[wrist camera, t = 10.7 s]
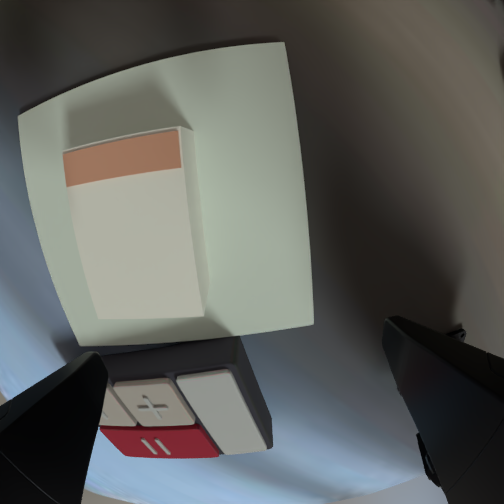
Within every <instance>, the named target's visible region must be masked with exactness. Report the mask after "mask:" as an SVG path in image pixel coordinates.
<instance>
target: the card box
mask: <svg viewBox="0 0 504 504" xmlns="http://www.w3.org/2000/svg"><path fill="white" fill-rule="evenodd" d="M62 154H63V164H64V172H65V180H66V187H67V194H68V200H69V206H70V212H71V217H72V223H73V228H74V232H75V237H76V242H77V246H78V250H79V254H80V259H81V262H82V266H83V270H84V274H85V278H86V281H87V285H88V288H89V291H90V295H91V298H92V301H93V304H94V308H95V311H96V314H97V317H98V319H154V318H182V317H202V316H204V313H205V307H206V302H207V297H208V291H209V286H210V276H209V269H208V261H207V253H206V245H205V237H204V228H203V220H202V211H201V201H200V192H199V181H198V171H197V160H196V148H195V136H194V131H192V130H190V129H187V128H184V127H182V126H177V127H170V128H163V129H157V130H151V131H146V132H140V133H135V134H130V135H125V136H120V137H115V138H111V139H106V140H102V141H98V142H93V143H89V144H85V145H82V146H78V147H74V148H70V149H67V150H63V151H62Z"/></svg>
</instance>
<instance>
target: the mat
mask: <svg viewBox="0 0 504 504" xmlns="http://www.w3.org/2000/svg"><path fill="white" fill-rule="evenodd" d="M18 124H19V136H20V145H21V153H22V161H23V167H24V173H25V179H26V185H27V190H28V195H29V200H30V204H31V209H32V213H33V217H34V221H35V225H36V229H37V233H38V236H39V240H40V244H41V247H42V250H43V254H44V257H45V260H46V263H47V266H48V269H49V272H50V275H51V278H52V281H53V283H54V286H55V289H56V291H57V294H58V297H59V299H60V302H61V304H62V307H63V309H64V312H65V314H66V316H67V319H68V321H69V323H70V325H71V328H72V330H73V332H74V334H75V336H76V339H77V341H78V343H79V345H80V346H113V345H137V344H154V343H169V342H181V341H193V340H203V339H213V338H222V337H231V336H239V335H247V334H254V333H262V332H269V331H276V330H282V329H289V328H295V327H301V326H307V325H313V324H314V316H313V292H312V274H311V257H310V243H309V230H308V218H307V206H306V196H305V186H304V176H303V167H302V158H301V149H300V141H299V133H298V126H297V118H296V111H295V104H294V97H293V91H292V84H291V78H290V72H289V66H288V60H287V54H286V48H285V43H284V42H275V43H261V44H250V45H241V46H232V47H225V48H218V49H212V50H206V51H200V52H195V53H190V54H185V55H180V56H175V57H171V58H167V59H163V60H159V61H155V62H151V63H147V64H144V65H140V66H137V67H133V68H130V69H127V70H124V71H121V72H117V73H114V74H111V75H109V76H106V77H103V78H100V79H97V80H95V81H92V82H89V83H87V84H84V85H82V86H79V87H77V88H75V89H72V90H70V91H68V92H65V93H63V94H61V95H59V96H56V97H54V98H52V99H50V100H48V101H46V102H44V103H42V104H40V105H38V106H36V107H34V108H32V109H30V110H28V111H26V112H24V113H23V114H21V115H19V116H18ZM177 126H182V127H184V128H187V129H190V130H192V131H194V136H195V148H196V160H197V171H198V181H199V192H200V201H201V211H202V220H203V228H204V237H205V245H206V253H207V261H208V269H209V276H210V286H209V291H208V297H207V302H206V307H205V313H204V316H202V317H182V318H154V319H98V317H97V314H96V311H95V308H94V304H93V301H92V298H91V295H90V291H89V288H88V285H87V281H86V278H85V274H84V270H83V266H82V262H81V259H80V254H79V250H78V246H77V242H76V237H75V232H74V228H73V223H72V217H71V212H70V206H69V200H68V194H67V187H66V180H65V172H64V164H63V154H62V151H63V150H67V149H70V148H74V147H78V146H82V145H85V144H89V143H93V142H98V141H102V140H106V139H111V138H115V137H120V136H125V135H130V134H135V133H140V132H146V131H151V130H157V129H163V128H170V127H177Z"/></svg>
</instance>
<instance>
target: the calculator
mask: <svg viewBox="0 0 504 504" xmlns="http://www.w3.org/2000/svg"><path fill="white" fill-rule="evenodd" d="M101 358H102V360H103V362H104V364H105V366H106V368H107V370H108V374H109V378H108V383H107V388H106V394H105V399H104V405H103V410H102V415H101V419H100V423H99V427H100V431H101V432H102V433H103V434H104V435H105V436H106V437H107V438H108V439H109V440H110V441H111V442H112V444H113V445H114V446H115V447H116V448H117V449H118V450H119V451H120V452H122V453H123V454H124V455H125V456H130V457H145V458H212V457H218V456H219V455H220V454H226V455H231V454H241V453H251V452H259V451H265V450H267V449H271V448H272V447H273V435H272V418H271V415H270V413H269V410H268V408H267V405H266V403H265V400H264V398H263V395H262V393H261V390H260V388H259V385H258V383H257V380H256V378H255V375H254V373H253V370H252V367H251V365H250V362H249V360H248V357H247V354H246V352H245V349H244V347H243V344H242V341H241V339H240V336H231V337H222V338H213V339H203V340H193V341H184V342H181V343H179V344H177V345H175V346H170V347H163V348H157V349H150V350H143V351H135V352H128V353H120V354H112V355H105V356H101Z"/></svg>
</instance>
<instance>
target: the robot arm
mask: <svg viewBox="0 0 504 504" xmlns="http://www.w3.org/2000/svg"><path fill="white" fill-rule="evenodd" d="M465 336H466V331H465V330H464V329H460V330H457V331H455V332H452V333H449V334H446V335H444V334H442V333H439V332H437V331H435V330H432V329H430V328H427V327H425V326H422V325H420V324H417V323H415V322H413V321H410V320H408V319H405V318H403V317H400V316H392V317H388V318H386V319H385V321H384V327H383V336H382V345H383V349H384V351H385V354H386V357H387V359H388V362H389V365H390V368H391V370H392V373H393V376H394V379H395V381H396V384H397V387H398V389H399V391H400V395H401V396H402V397H403V399H404V401H405V403H406V405H407V407H408V410H409V412H410V414H411V416H412V418H413V420H414V422H415V424H416V427H417V429H418V431H419V433H417V434H416V436H417V440H418V445H419V449H420V453H421V457H422V461H423V465H424V469H425V473H426V475H427V476H428V479H429V480H432V482H433V483H434V484H435V485H436V486H438V487H440V488H442V490H443V492H444V493H445V495H446V498H447V501H448V504H504V358H501V357H498V356H496V355H493V354H491V353H489V352H488V353H486V351H483V350H481V349H479V348H476V347H474V346H471V345H469V344H466V343H464V339H465ZM108 378H109V374H108V370H107V368H106V366H105V364H104V362H103V360H102V358H101V356H100V354H99V353H98V352H86V353H84V354H82V355H81V356H79V357H78V358H76V359H74V360H73V361H71V362H70V363H68V364H66V365H65V366H63V367H62V368H60V369H58V370H57V371H55V372H54V373H52V374H50V375H49V376H47V377H46V378H44V379H42V380H41V381H39V382H38V383H36V384H35V385H33V386H31V387H30V388H28V389H27V390H25V391H23V392H22V393H20V394H19V395H17V396H15V397H14V398H13V399H11V400H9V401H7V402H6V403H4V404H3V405H1V406H0V504H81V500H82V494H83V489H84V485H85V480H86V475H87V471H88V466H89V462H90V458H91V454H92V450H93V446H94V442H95V438H96V434H97V430H98V427H99V423H100V419H101V415H102V410H103V405H104V399H105V394H106V388H107V383H108Z"/></svg>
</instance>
